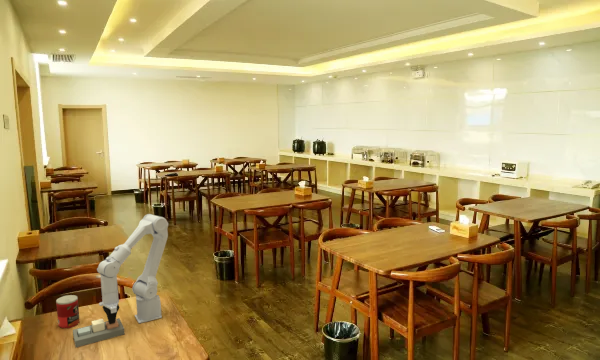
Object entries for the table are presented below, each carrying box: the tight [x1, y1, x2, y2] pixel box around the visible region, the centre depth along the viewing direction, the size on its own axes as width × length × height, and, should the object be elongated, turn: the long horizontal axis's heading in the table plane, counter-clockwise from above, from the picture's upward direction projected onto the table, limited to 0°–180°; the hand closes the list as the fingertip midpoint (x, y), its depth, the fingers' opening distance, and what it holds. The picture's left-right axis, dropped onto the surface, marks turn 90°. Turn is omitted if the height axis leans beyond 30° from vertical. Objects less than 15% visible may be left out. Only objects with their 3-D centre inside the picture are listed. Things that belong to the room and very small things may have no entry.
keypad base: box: [72, 317, 125, 348], centre depth 161 cm, size 17×10×2 cm, turn 123°
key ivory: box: [91, 318, 105, 333], centre depth 161 cm, size 4×4×3 cm
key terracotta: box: [105, 320, 119, 330], centre depth 164 cm, size 4×4×3 cm
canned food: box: [55, 294, 81, 329], centre depth 170 cm, size 8×8×11 cm
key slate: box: [77, 325, 91, 337], centre depth 159 cm, size 4×4×3 cm
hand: (112, 323), depth 164 cm, fingers closed, pressing on key terracotta
